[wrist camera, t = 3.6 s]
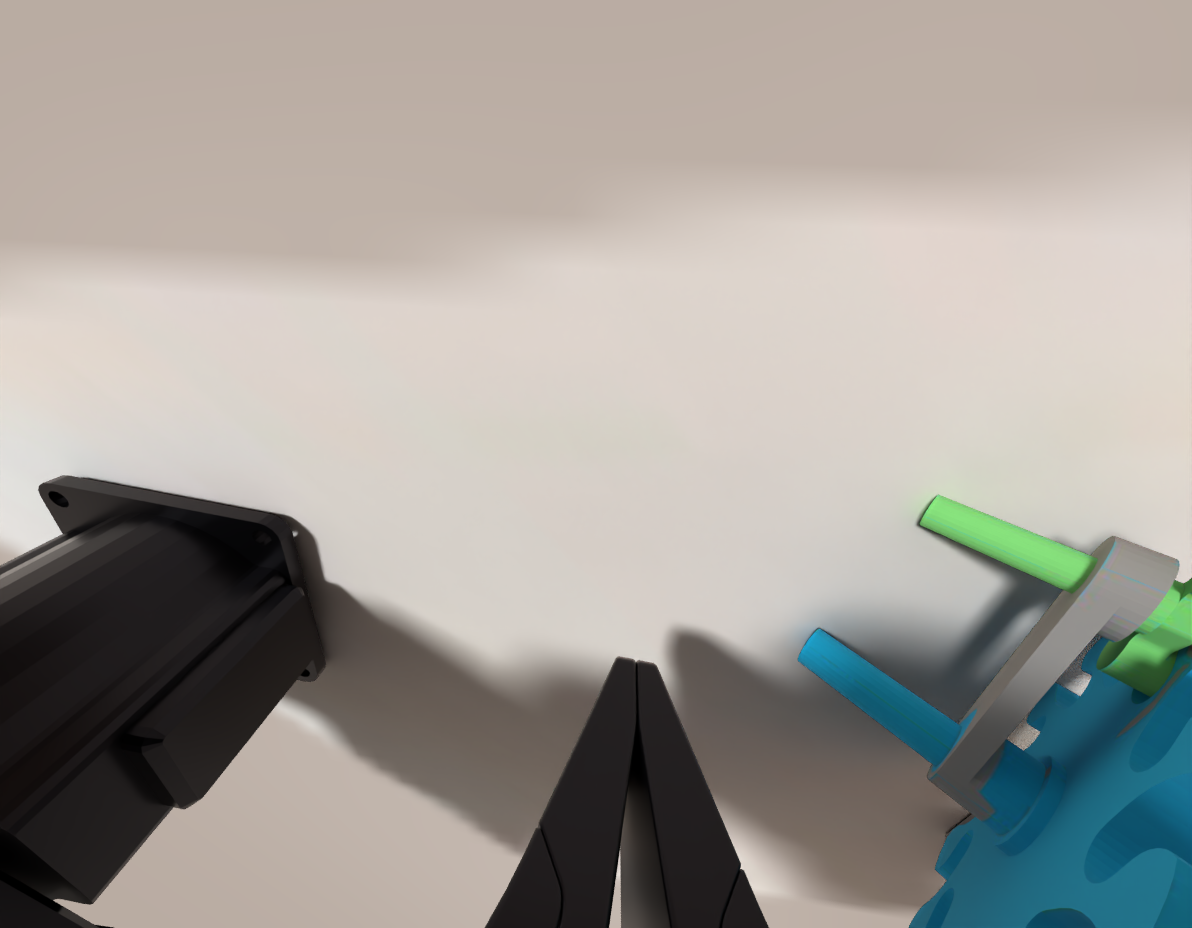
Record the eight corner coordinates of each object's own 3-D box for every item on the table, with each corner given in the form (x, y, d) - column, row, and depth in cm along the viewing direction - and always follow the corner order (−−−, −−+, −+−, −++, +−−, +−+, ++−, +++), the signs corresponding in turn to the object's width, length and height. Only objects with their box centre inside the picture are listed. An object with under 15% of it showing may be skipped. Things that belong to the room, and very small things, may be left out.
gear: (1001, 854, 12) (933, 1380, 6) (806, 696, 16) (627, 892, 9) (1321, 533, 8) (2413, 1004, 2) (963, 426, 12) (847, 434, 5)
